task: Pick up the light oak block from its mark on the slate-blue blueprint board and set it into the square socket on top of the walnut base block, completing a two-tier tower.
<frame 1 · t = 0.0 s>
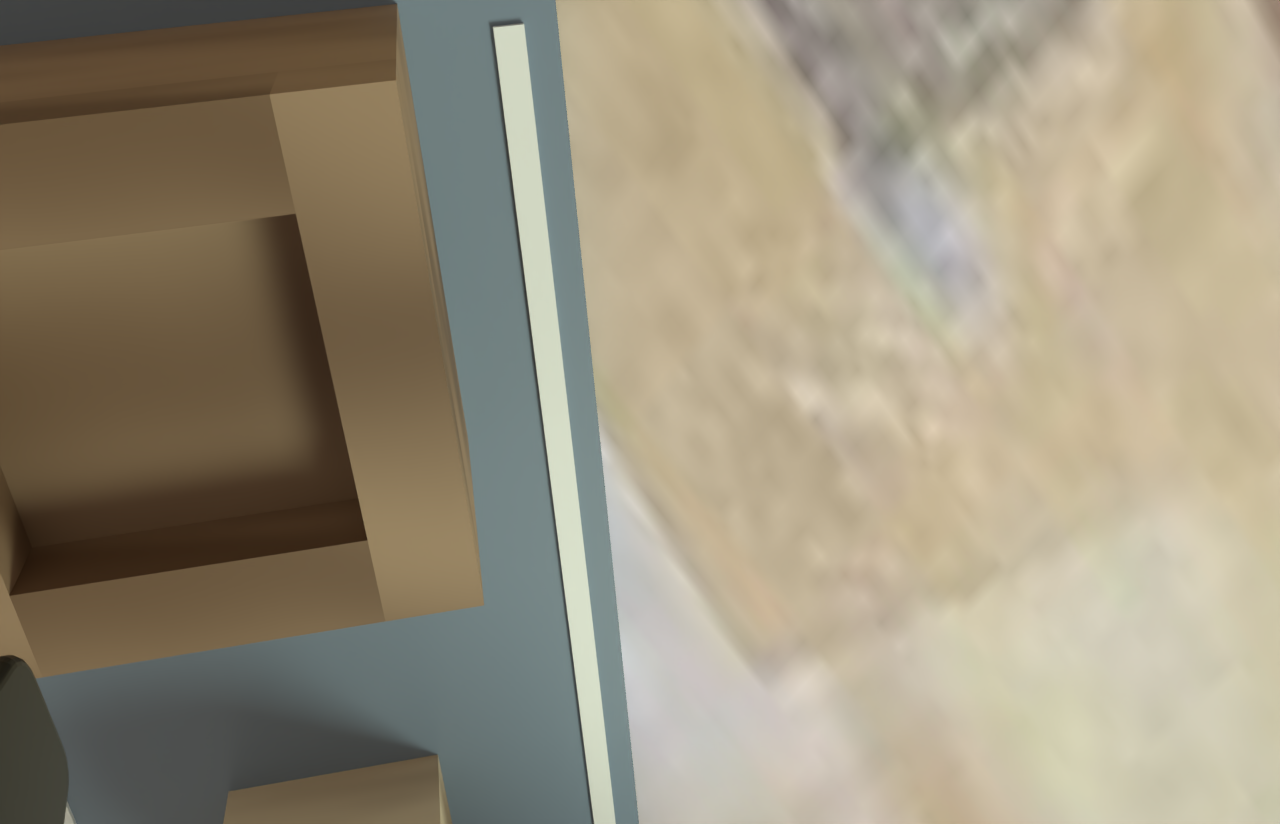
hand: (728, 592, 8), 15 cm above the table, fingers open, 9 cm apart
blueprint board: (285, 555, 24), on the table
base block: (200, 271, 21), point 1 cm above the table, touching blueprint board
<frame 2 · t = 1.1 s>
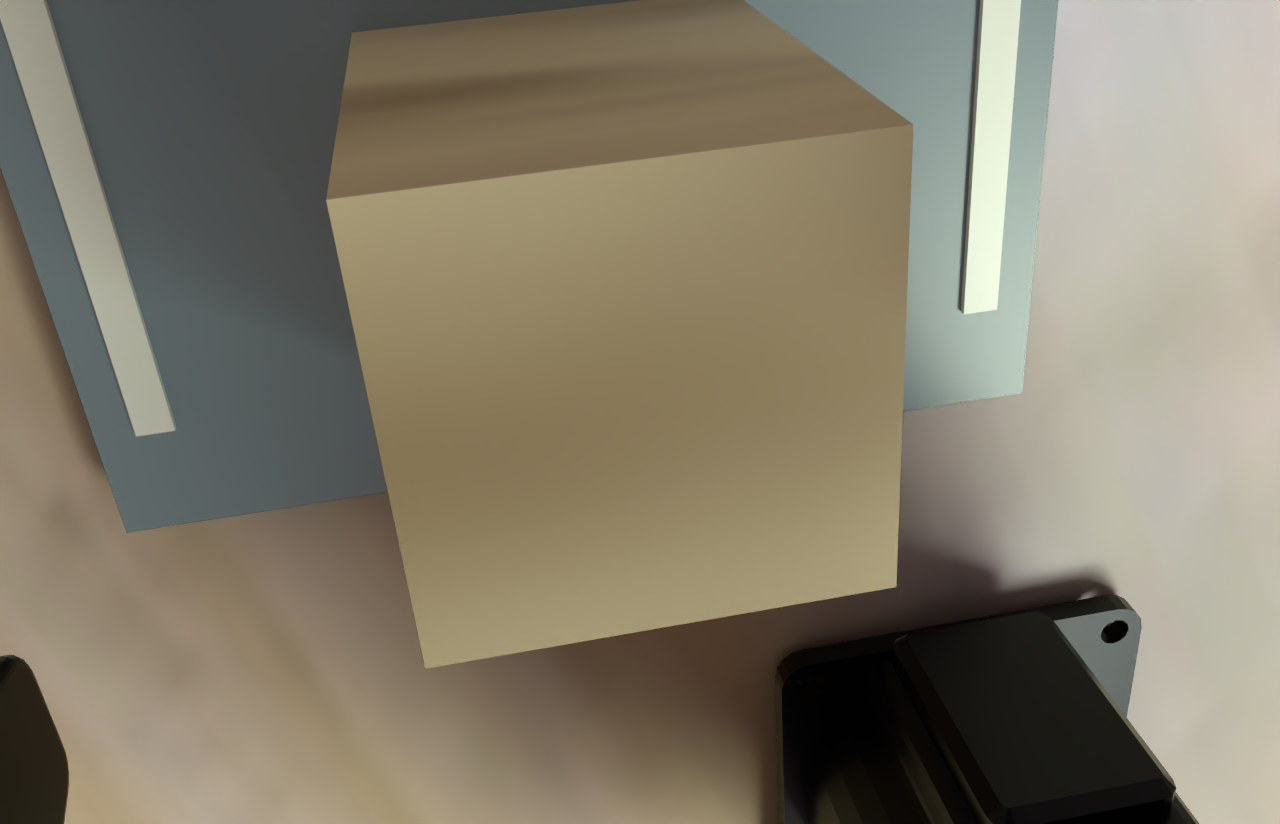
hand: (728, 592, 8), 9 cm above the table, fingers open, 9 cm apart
oak block: (564, 193, 15), point 1 cm above the table, touching blueprint board
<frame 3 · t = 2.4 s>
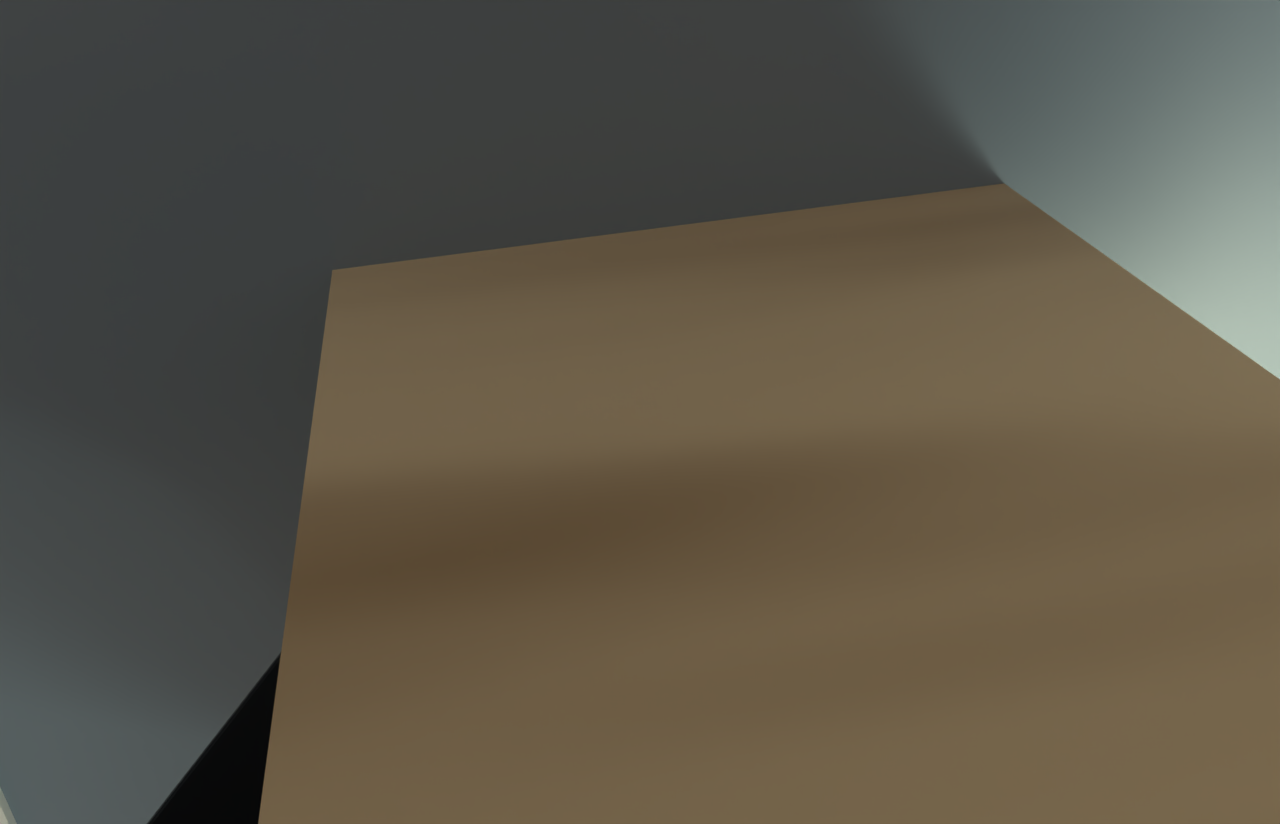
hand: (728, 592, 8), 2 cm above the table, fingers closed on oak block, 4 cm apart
oak block: (695, 510, 9), point 1 cm above the table, touching blueprint board, gripper
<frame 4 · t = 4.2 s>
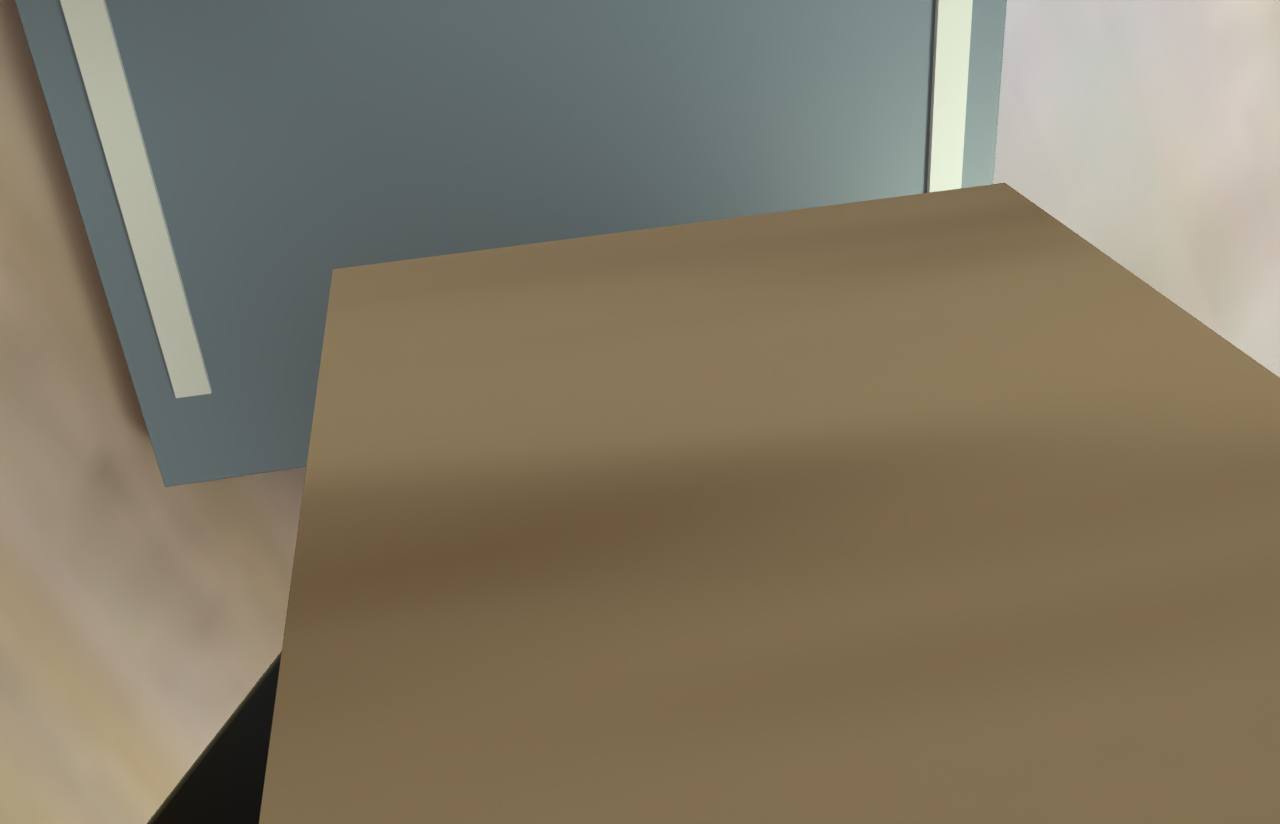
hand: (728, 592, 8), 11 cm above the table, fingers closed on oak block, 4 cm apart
oak block: (696, 509, 9), point 10 cm above the table, touching gripper
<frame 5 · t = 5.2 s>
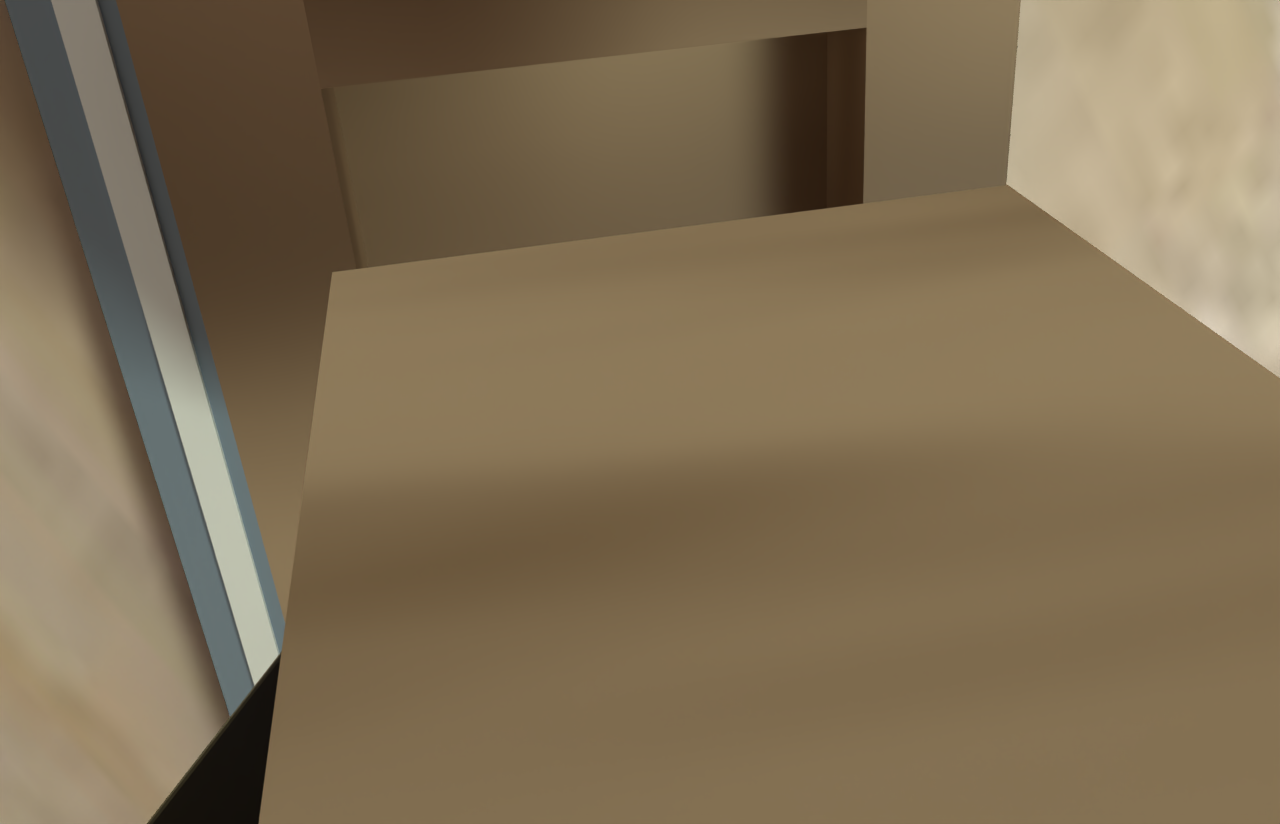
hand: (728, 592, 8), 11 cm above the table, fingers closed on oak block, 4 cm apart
blueprint board: (596, 519, 21), on the table
oak block: (697, 513, 9), point 10 cm above the table, touching gripper
base block: (563, 159, 17), point 1 cm above the table, touching blueprint board
when the fingers open (7 cm above the table, at t = 6.0 s): oak block drops 2 cm, resting on base block.
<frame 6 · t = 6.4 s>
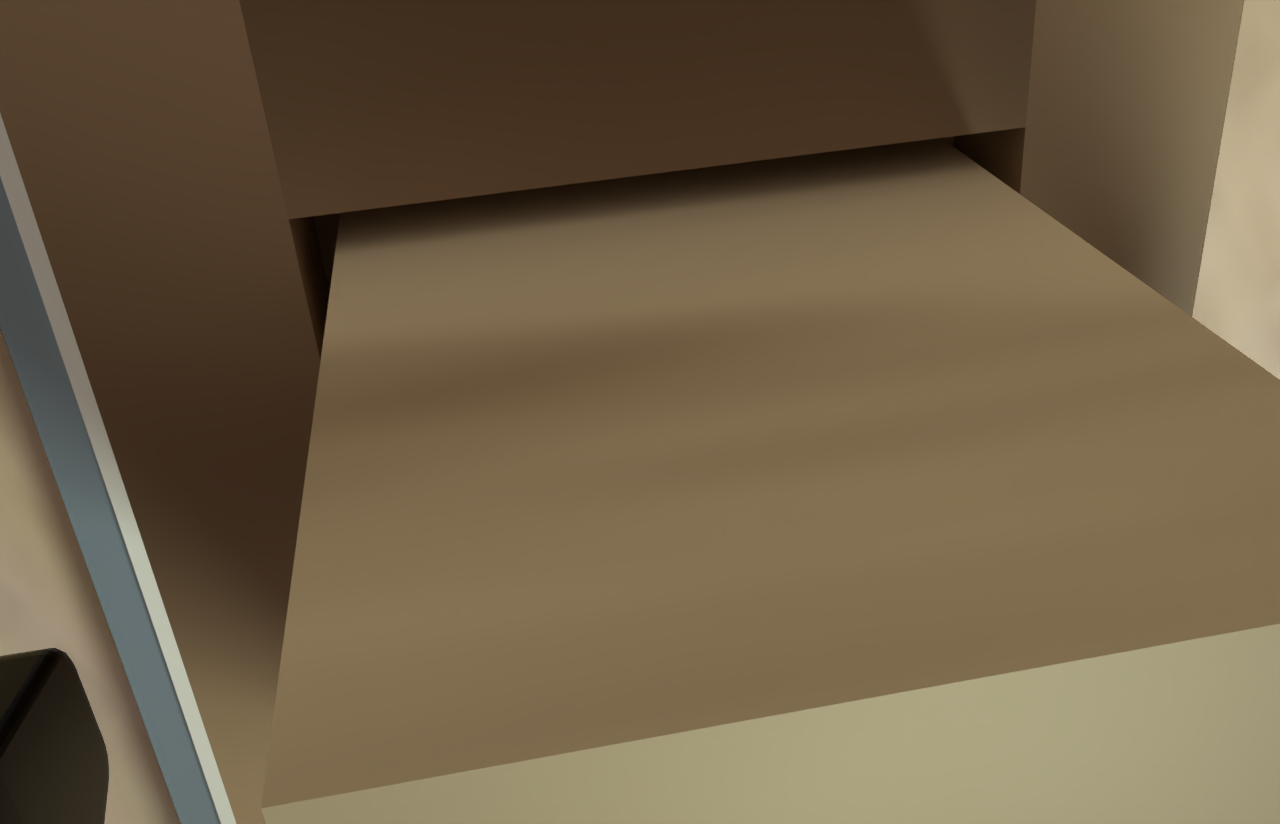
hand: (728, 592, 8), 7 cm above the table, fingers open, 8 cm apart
blueprint board: (627, 645, 18), on the table
oak block: (660, 416, 10), point 5 cm above the table, touching base block
base block: (595, 247, 14), point 1 cm above the table, touching blueprint board, oak block
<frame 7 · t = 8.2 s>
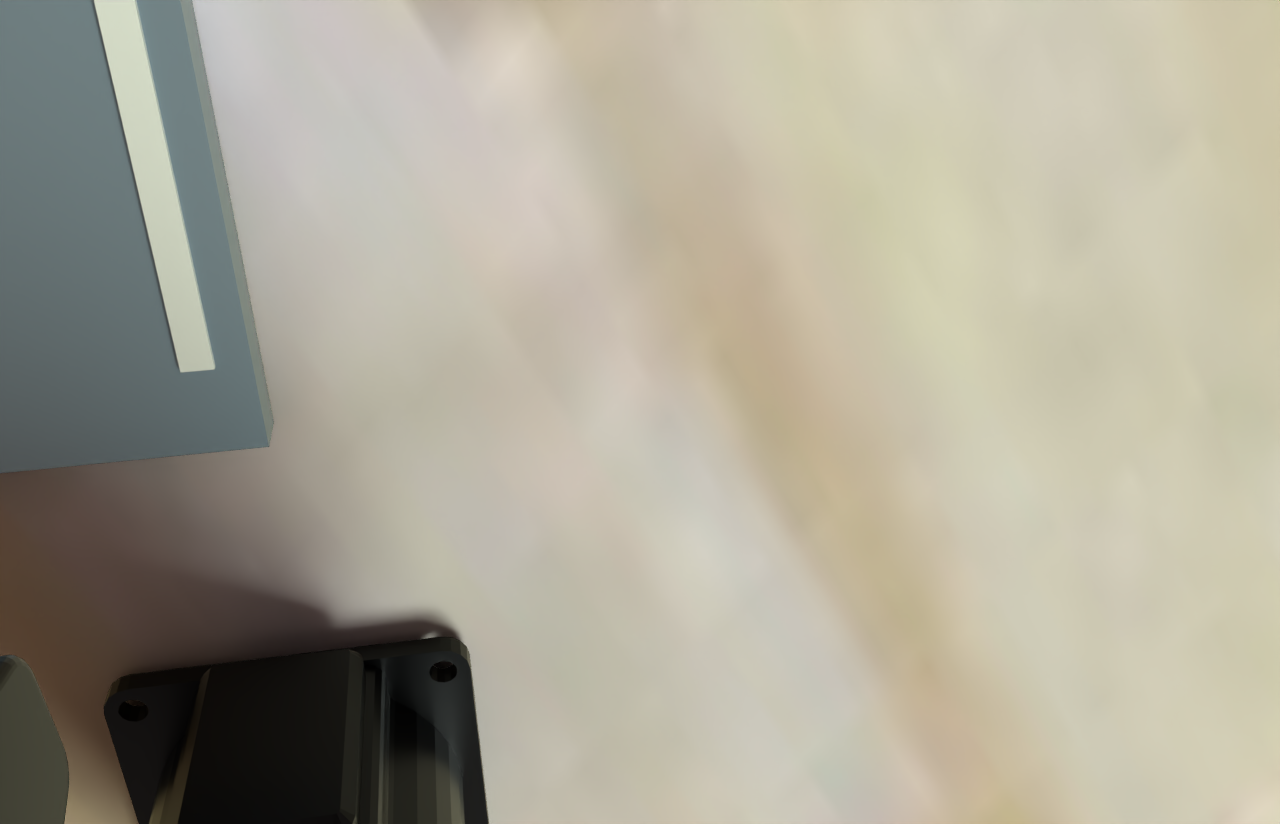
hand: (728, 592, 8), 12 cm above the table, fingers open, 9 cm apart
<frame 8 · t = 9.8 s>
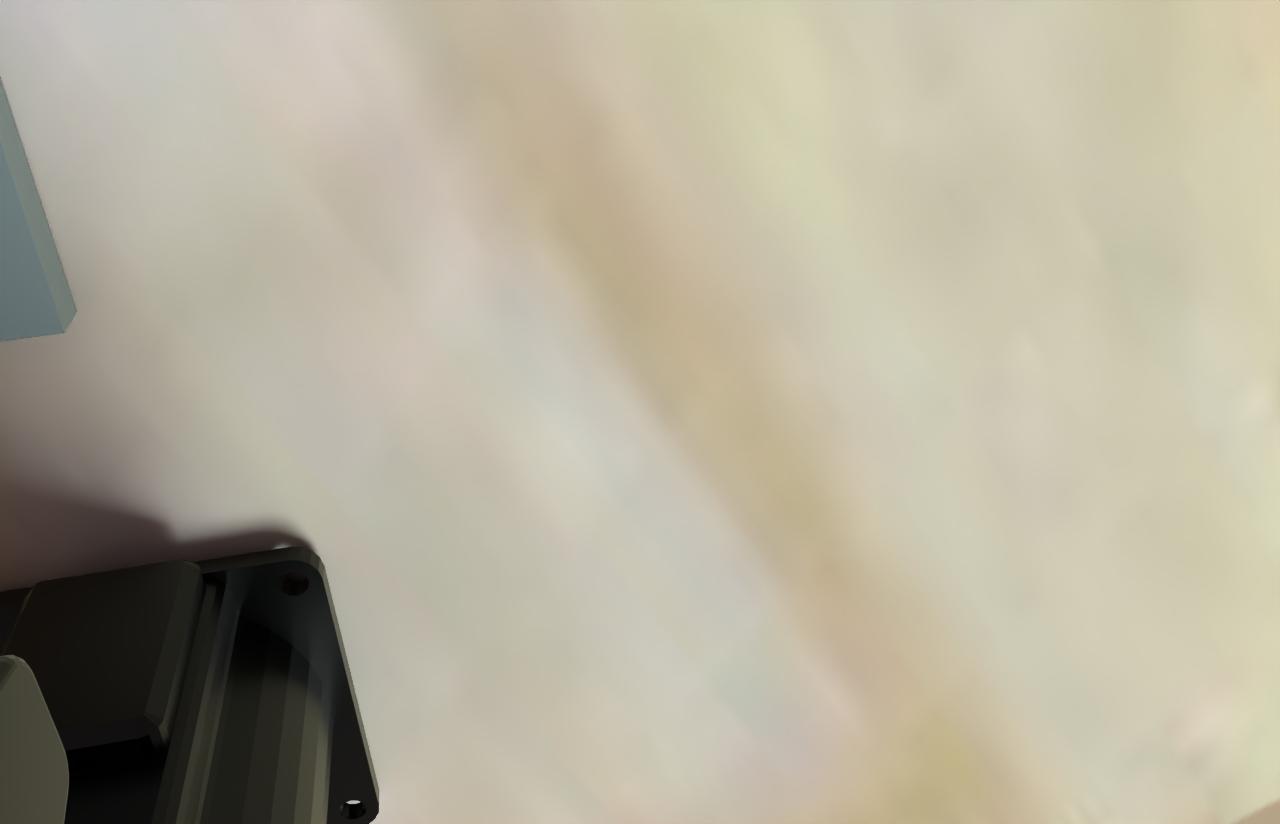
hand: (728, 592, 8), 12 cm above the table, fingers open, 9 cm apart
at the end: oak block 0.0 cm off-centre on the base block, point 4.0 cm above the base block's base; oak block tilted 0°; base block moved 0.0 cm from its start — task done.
